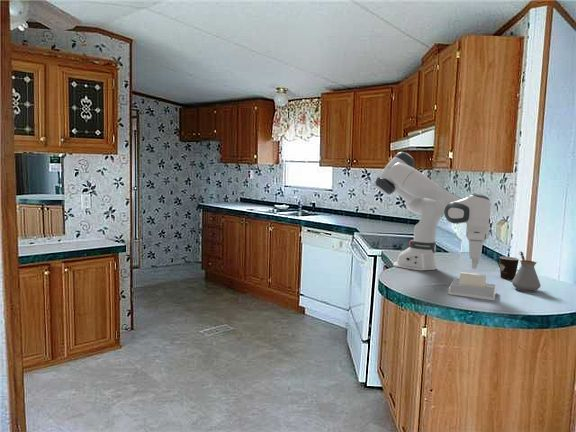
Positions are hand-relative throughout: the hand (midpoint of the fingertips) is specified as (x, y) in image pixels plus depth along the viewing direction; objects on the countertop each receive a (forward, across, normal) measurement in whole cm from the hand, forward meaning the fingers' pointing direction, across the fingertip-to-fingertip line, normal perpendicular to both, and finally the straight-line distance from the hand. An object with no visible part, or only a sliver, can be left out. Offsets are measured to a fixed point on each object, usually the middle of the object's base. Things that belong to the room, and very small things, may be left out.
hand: (475, 266), depth 197 cm
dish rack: (+12, -2, 0) cm, 13 cm away
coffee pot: (+13, -27, +20) cm, 36 cm away
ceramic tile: (+11, 0, 0) cm, 11 cm away
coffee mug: (+13, -45, +13) cm, 49 cm away
